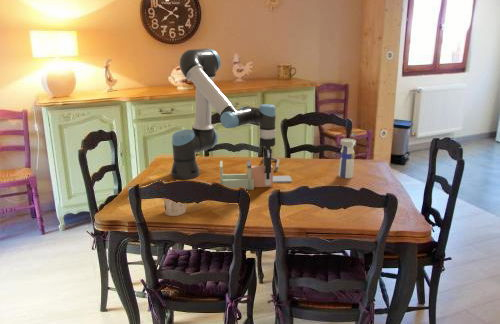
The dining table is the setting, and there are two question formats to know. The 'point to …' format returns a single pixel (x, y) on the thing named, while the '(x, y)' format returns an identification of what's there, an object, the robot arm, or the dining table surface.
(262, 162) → the toilet paper hanger
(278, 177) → the tray
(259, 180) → the pink cube
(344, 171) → the water bottle
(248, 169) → the dispenser
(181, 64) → the robot arm
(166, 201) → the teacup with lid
